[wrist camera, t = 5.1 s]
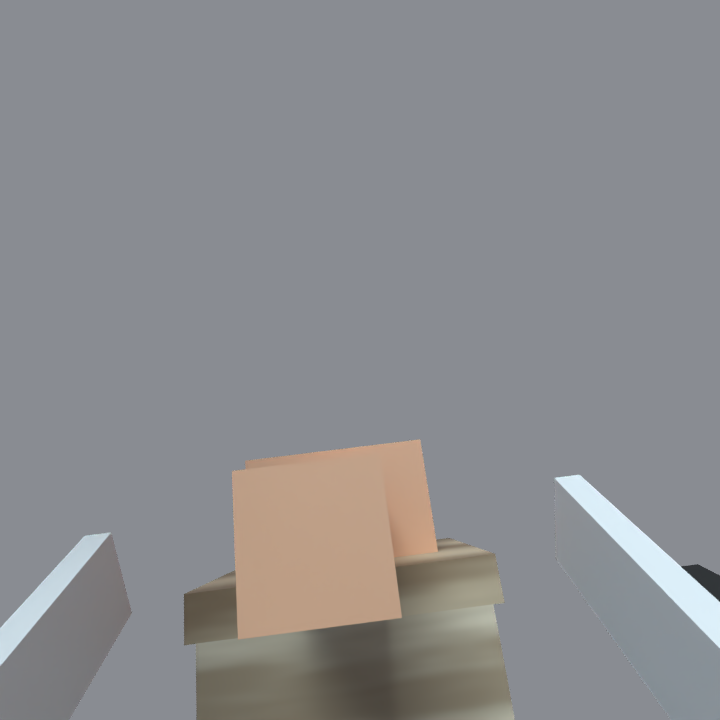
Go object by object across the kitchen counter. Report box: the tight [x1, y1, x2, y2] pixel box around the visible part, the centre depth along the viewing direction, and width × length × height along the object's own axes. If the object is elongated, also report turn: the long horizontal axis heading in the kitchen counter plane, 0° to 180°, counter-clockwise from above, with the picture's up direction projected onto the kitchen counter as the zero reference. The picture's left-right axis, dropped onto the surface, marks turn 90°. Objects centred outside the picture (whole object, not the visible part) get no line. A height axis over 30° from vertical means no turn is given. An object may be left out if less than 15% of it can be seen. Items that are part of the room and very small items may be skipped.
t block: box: [232, 440, 438, 640], centre depth 22 cm, size 20×10×6 cm, turn 179°
